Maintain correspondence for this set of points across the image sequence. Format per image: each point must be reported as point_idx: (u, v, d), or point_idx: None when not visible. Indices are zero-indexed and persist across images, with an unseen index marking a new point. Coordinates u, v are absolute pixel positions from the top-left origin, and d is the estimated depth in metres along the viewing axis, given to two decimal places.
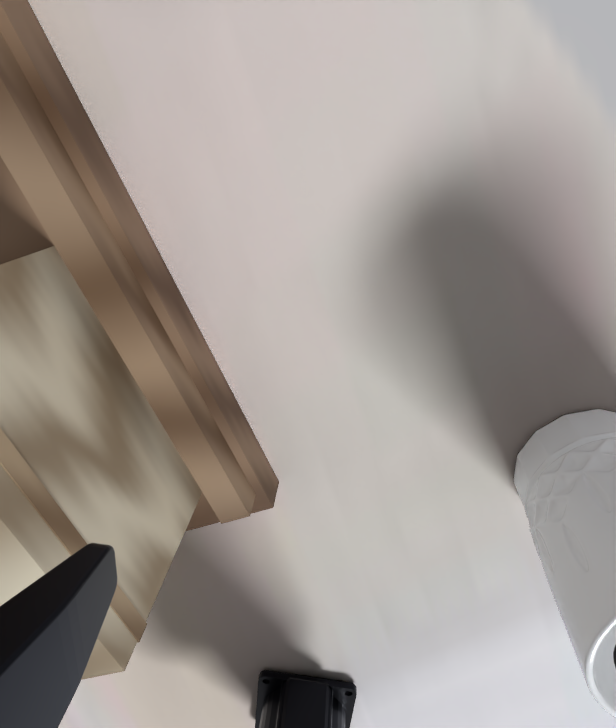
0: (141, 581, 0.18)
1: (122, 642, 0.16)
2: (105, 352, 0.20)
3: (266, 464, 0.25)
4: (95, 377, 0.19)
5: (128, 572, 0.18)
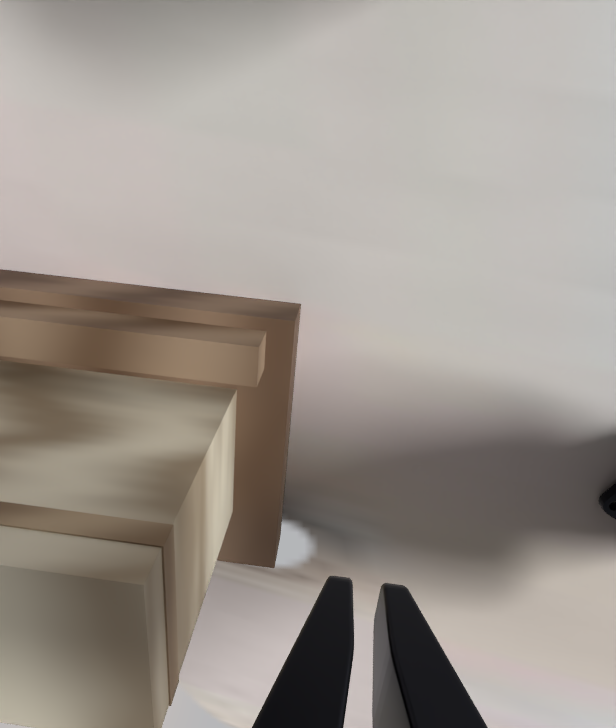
0: (144, 494, 0.13)
1: (127, 560, 0.11)
2: (9, 371, 0.18)
3: (262, 302, 0.19)
4: None
5: (114, 497, 0.13)
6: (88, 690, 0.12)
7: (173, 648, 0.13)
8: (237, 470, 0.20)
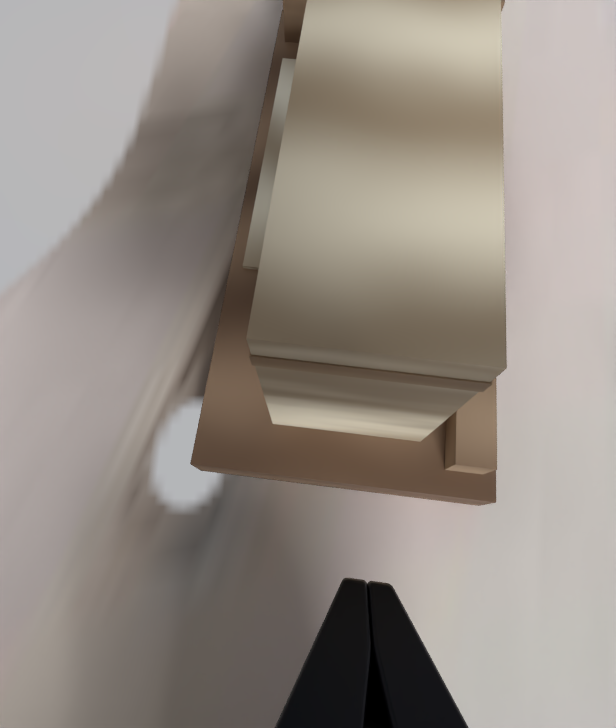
0: None
1: None
2: None
3: None
4: None
5: None
6: (338, 286, 0.12)
7: (325, 369, 0.13)
8: (326, 433, 0.20)
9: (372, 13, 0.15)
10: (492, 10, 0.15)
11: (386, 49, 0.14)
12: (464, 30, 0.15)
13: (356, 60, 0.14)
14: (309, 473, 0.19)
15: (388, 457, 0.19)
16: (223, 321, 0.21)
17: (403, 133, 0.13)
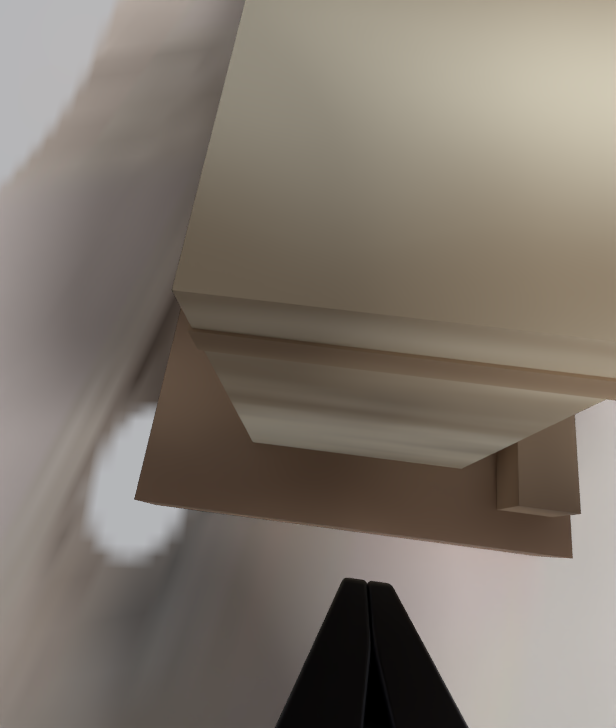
0: None
1: None
2: None
3: None
4: None
5: None
6: (357, 195, 0.06)
7: (331, 358, 0.07)
8: (327, 455, 0.14)
9: None
10: None
11: None
12: None
13: None
14: (303, 514, 0.13)
15: (416, 491, 0.14)
16: None
17: None
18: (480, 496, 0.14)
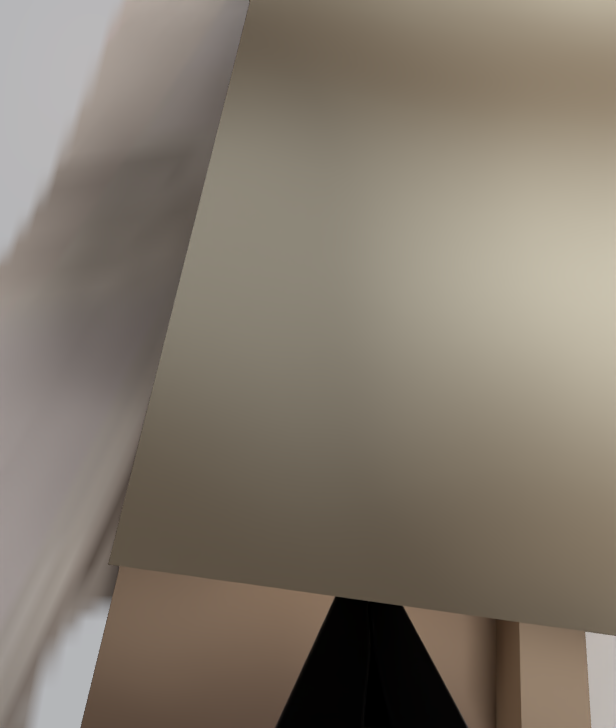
0: None
1: None
2: None
3: None
4: None
5: None
6: (329, 428, 0.05)
7: None
8: None
9: None
10: None
11: None
12: None
13: None
14: None
15: None
16: None
17: (459, 100, 0.07)
18: None
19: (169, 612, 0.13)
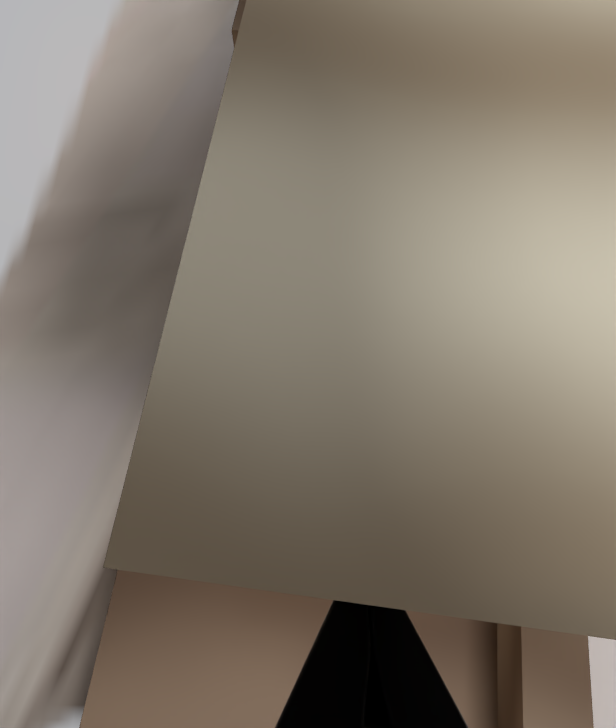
0: None
1: None
2: None
3: None
4: None
5: None
6: (330, 428, 0.05)
7: None
8: None
9: None
10: None
11: None
12: None
13: None
14: None
15: None
16: (116, 604, 0.13)
17: (462, 92, 0.07)
18: None
19: None
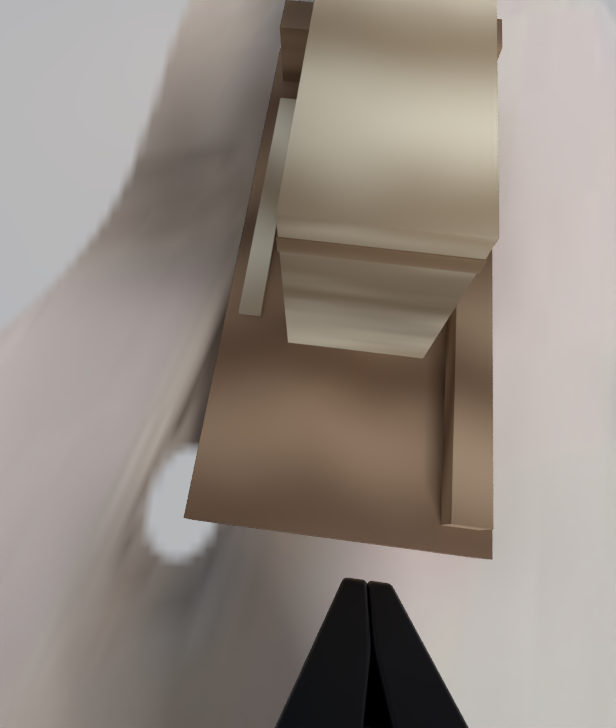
0: None
1: None
2: None
3: None
4: None
5: None
6: (354, 174, 0.14)
7: (342, 252, 0.14)
8: (321, 486, 0.19)
9: None
10: None
11: None
12: None
13: None
14: (304, 528, 0.19)
15: (383, 511, 0.19)
16: (218, 369, 0.21)
17: (410, 53, 0.15)
18: (429, 515, 0.19)
19: (238, 437, 0.20)
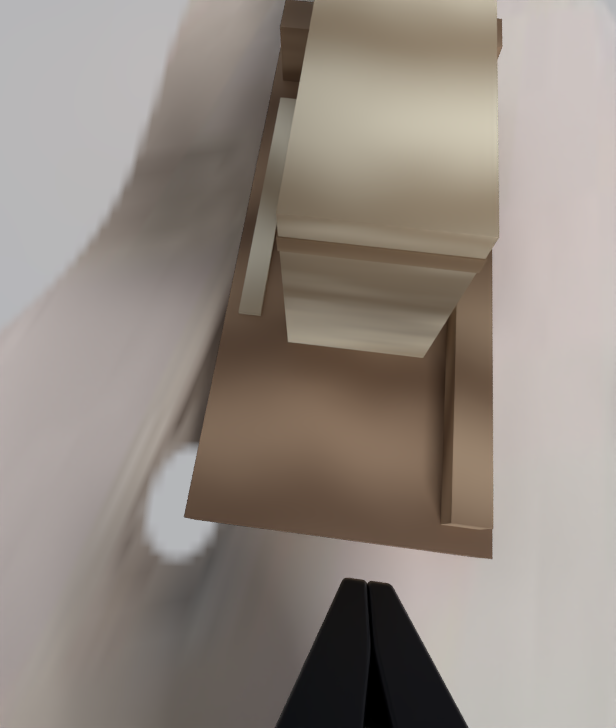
0: None
1: None
2: None
3: None
4: None
5: None
6: (354, 173, 0.14)
7: (342, 252, 0.14)
8: (321, 485, 0.19)
9: None
10: None
11: None
12: None
13: None
14: (304, 527, 0.19)
15: (384, 511, 0.19)
16: (218, 368, 0.21)
17: (410, 52, 0.15)
18: (429, 515, 0.19)
19: (238, 436, 0.20)
